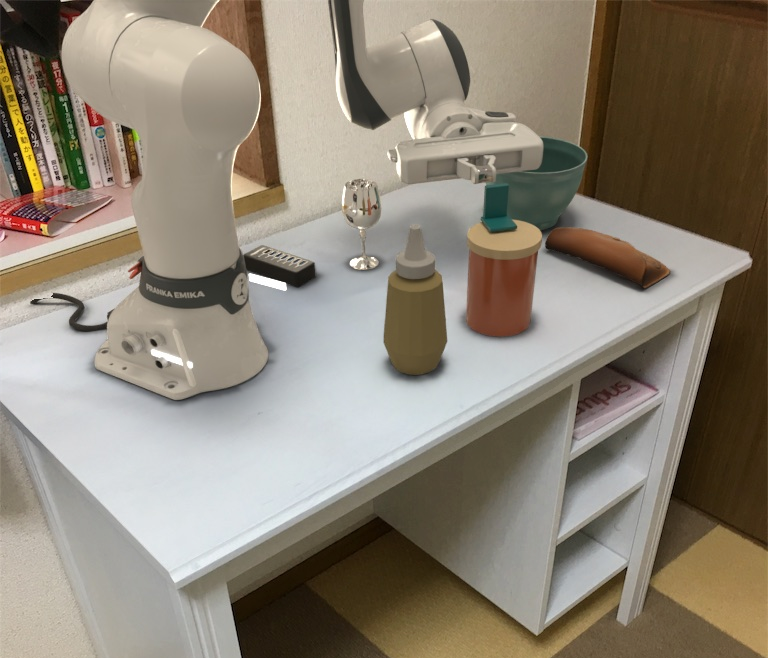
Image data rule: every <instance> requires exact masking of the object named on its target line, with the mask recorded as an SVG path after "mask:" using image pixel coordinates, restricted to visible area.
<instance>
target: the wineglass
mask: <svg viewBox="0 0 768 658" xmlns="http://www.w3.org/2000/svg"><path fill="white" fill-rule="evenodd" d="M341 199H342V201H341V211H342V216H343V219H344V221H345V222H346V224H347V225H348V226H349V227H351V228H353V229H356V230H359V239H360V241H361V256H357V257H354V258H352V259H351V260H350V262H349V266H350V267H351V268H352V269H355V270H358V271H366V270H367V271H369V270H371V269H375V268H377V267H378V266H379V265H380V262H379V260H378V259H377V258H376V257H374V256H368V255H367V253H366V239H367V232H366V231H367V230H366V229H370V228H373V227H374V226H375V225H377V223H378V222H379V220H380V219H381V216H382V199H381V195H380V191H379V187H378V183H377V182H376V181H375V180H373V179H369V178H356V179H355V178H354V179H351V180H348V181H347V182H345V184H344V187H343V192H342V198H341Z"/></svg>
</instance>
